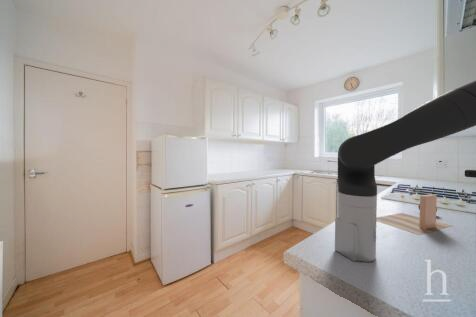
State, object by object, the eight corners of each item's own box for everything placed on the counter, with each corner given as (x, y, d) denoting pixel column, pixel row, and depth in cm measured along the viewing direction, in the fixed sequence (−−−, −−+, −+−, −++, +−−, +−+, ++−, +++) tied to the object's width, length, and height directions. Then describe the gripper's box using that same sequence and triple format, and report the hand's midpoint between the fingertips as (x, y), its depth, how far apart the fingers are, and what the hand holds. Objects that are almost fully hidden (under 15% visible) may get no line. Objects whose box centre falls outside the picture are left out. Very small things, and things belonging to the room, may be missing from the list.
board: (419, 237, 60) (419, 234, 60) (369, 221, 75) (369, 218, 75) (452, 228, 68) (452, 225, 68) (402, 214, 83) (402, 212, 83)
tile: (425, 229, 64) (426, 196, 64) (419, 227, 66) (420, 195, 66) (435, 226, 67) (436, 195, 67) (430, 225, 68) (430, 194, 68)
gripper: (593, 162, 42) (475, 160, 58) (577, 164, 37) (455, 161, 54) (592, 194, 42) (475, 183, 58) (576, 200, 38) (454, 186, 54)
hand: (465, 173), depth 56 cm, fingers closed
